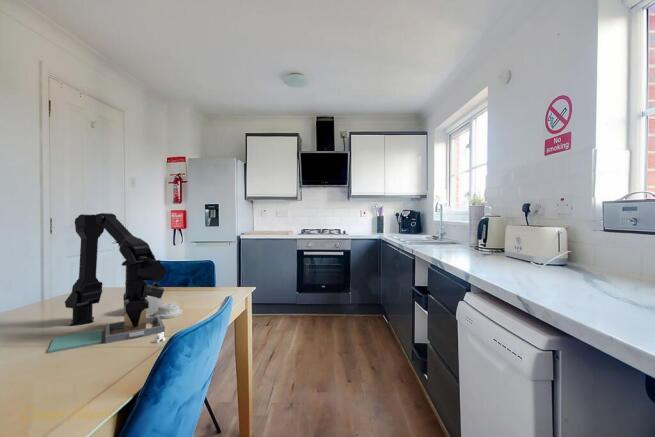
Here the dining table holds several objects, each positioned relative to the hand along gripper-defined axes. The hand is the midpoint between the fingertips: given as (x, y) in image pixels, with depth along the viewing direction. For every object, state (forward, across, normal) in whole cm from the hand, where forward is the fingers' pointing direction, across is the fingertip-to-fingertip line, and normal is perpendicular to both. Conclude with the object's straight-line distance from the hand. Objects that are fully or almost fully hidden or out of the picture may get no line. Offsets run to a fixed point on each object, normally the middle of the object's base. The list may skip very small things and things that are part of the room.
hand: (135, 325), depth 101 cm
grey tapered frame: (+2, 0, 0) cm, 2 cm away
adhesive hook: (+3, -14, -5) cm, 15 cm away
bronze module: (+2, 0, 0) cm, 2 cm away
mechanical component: (+2, +13, -12) cm, 18 cm away
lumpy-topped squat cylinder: (+2, +24, -4) cm, 24 cm away
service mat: (+2, 0, +15) cm, 15 cm away
